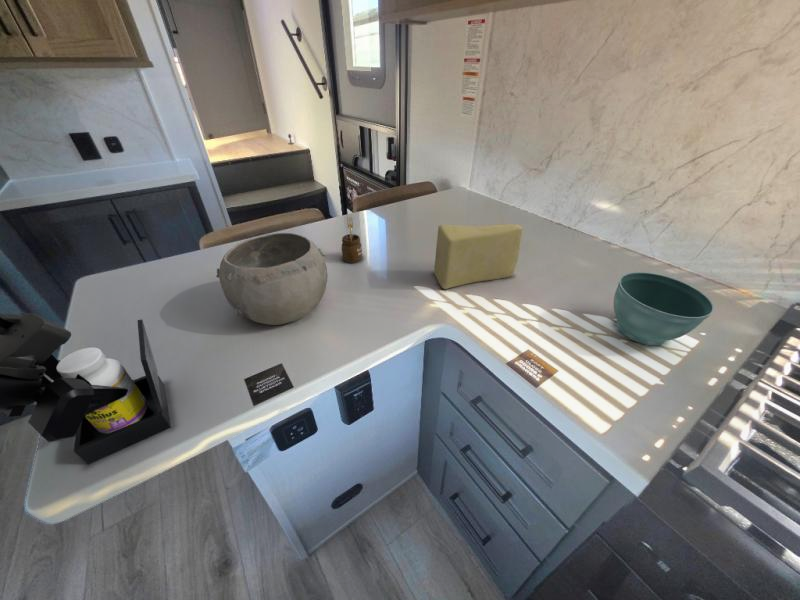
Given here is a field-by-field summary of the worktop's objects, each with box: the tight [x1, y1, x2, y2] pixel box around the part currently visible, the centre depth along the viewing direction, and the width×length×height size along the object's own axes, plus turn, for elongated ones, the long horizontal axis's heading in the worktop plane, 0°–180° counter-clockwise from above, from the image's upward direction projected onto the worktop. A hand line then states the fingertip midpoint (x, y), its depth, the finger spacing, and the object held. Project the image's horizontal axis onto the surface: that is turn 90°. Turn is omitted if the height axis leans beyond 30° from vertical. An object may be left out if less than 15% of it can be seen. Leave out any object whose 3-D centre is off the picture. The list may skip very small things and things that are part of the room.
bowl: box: [215, 232, 329, 326], centre depth 72 cm, size 23×23×15 cm
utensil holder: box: [341, 216, 363, 264], centre depth 93 cm, size 6×6×12 cm
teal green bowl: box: [613, 271, 715, 346], centre depth 68 cm, size 16×16×11 cm
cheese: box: [433, 223, 523, 290], centre depth 84 cm, size 22×10×15 cm, turn 100°
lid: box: [137, 319, 163, 413], centre depth 48 cm, size 11×10×1 cm
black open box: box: [73, 375, 171, 466], centre depth 50 cm, size 10×10×4 cm
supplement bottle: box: [56, 347, 148, 434], centre depth 46 cm, size 7×7×13 cm
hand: (113, 383), depth 47 cm, fingers closed on supplement bottle, 6 cm apart
